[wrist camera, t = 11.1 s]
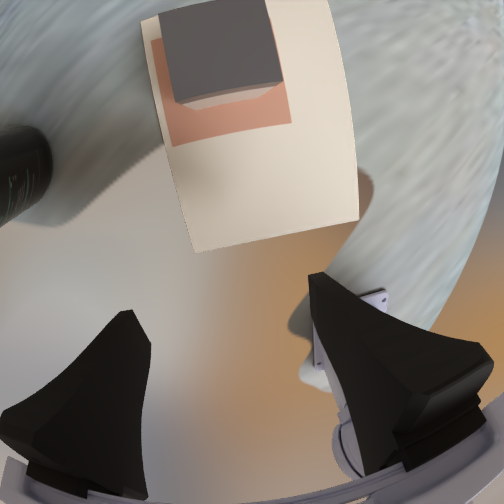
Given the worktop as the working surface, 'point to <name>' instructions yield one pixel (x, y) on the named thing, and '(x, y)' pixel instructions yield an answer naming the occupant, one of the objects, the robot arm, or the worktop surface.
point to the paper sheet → (265, 139)
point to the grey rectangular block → (220, 52)
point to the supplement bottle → (22, 170)
